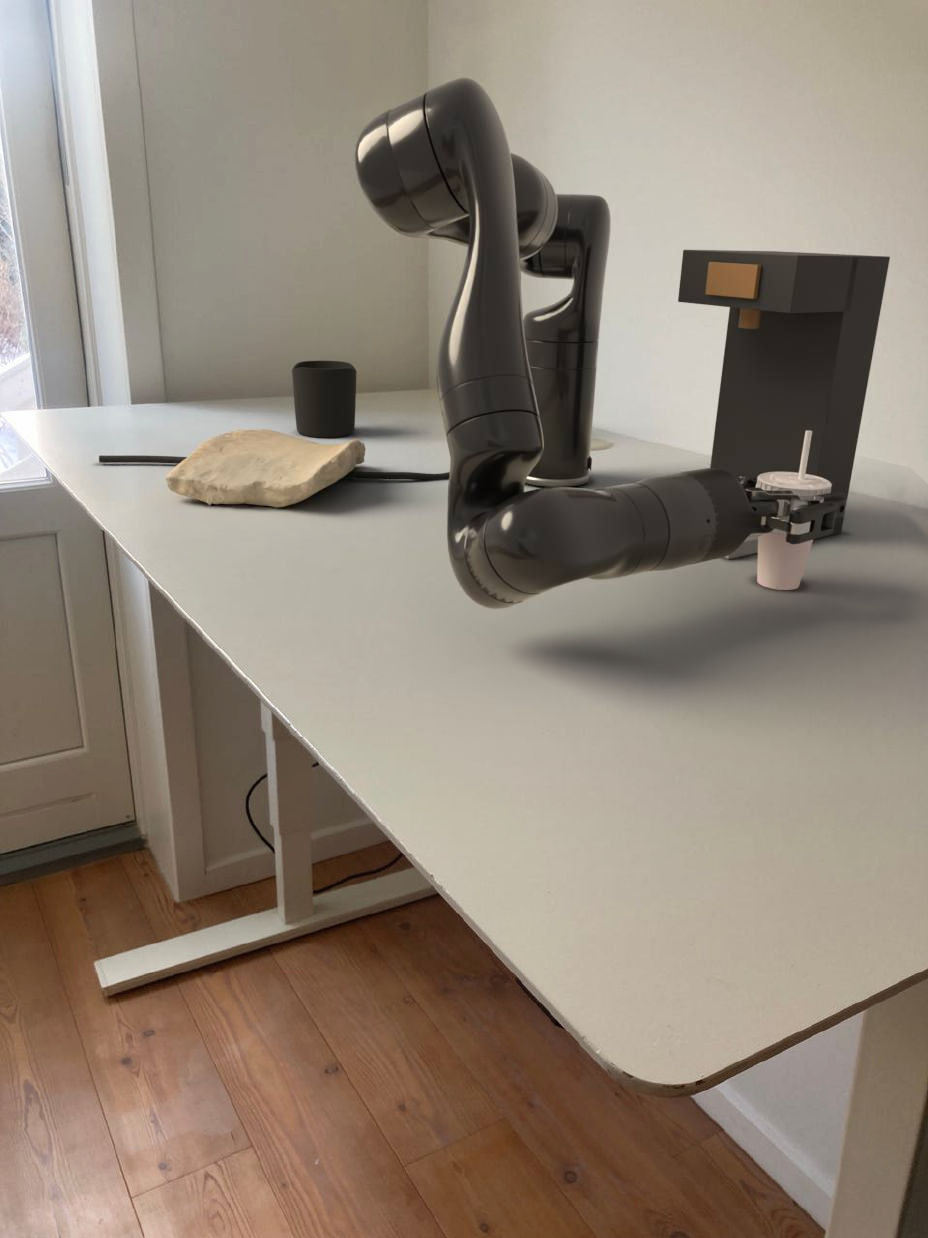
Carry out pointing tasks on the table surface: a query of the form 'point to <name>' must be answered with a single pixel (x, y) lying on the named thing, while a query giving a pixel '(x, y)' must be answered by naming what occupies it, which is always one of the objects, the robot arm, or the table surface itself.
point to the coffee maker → (789, 358)
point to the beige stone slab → (262, 468)
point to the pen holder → (324, 398)
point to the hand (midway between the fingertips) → (807, 494)
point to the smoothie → (775, 555)
